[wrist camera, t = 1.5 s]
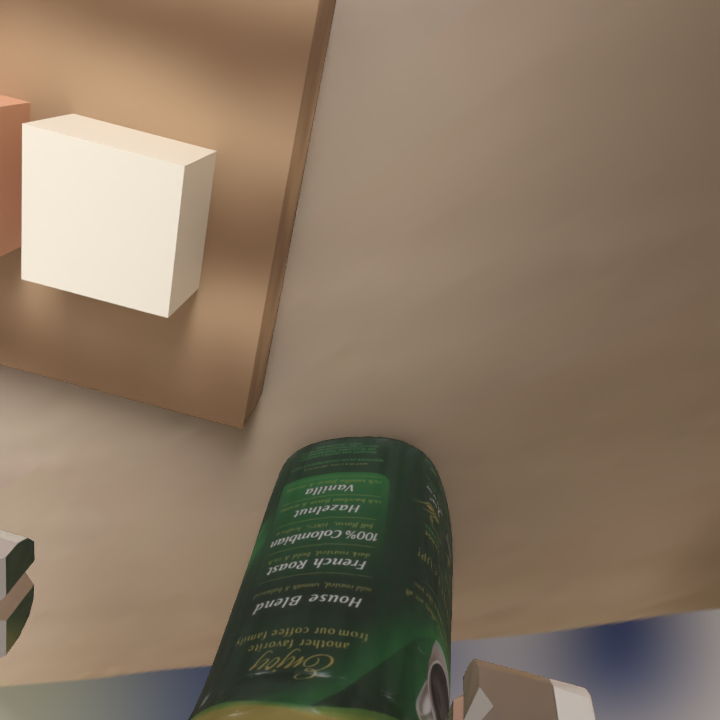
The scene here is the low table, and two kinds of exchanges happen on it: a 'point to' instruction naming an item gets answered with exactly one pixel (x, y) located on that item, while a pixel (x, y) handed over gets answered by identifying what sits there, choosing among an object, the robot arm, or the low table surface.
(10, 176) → the tile
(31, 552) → the robot arm
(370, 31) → the low table surface
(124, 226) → the tile
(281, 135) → the board
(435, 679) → the coffee jar
